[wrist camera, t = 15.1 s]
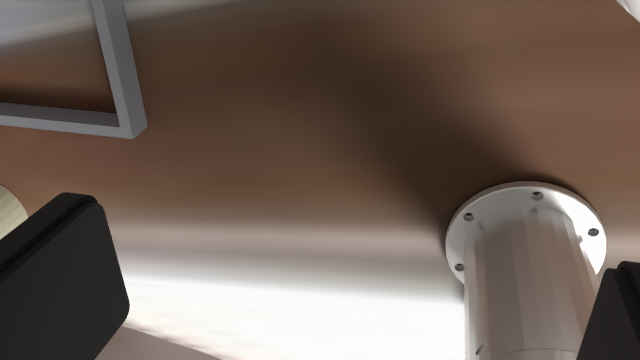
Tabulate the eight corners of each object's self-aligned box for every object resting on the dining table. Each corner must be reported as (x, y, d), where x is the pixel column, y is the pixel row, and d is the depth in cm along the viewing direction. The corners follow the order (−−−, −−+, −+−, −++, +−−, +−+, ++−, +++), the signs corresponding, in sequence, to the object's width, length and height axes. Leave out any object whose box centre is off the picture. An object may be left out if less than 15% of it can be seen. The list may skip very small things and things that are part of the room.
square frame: (147, 126, 47) (133, 139, 44) (-13, 110, 50) (-34, 121, 48) (104, -85, 38) (83, -82, 35) (-89, -88, 41) (-118, -85, 39)
